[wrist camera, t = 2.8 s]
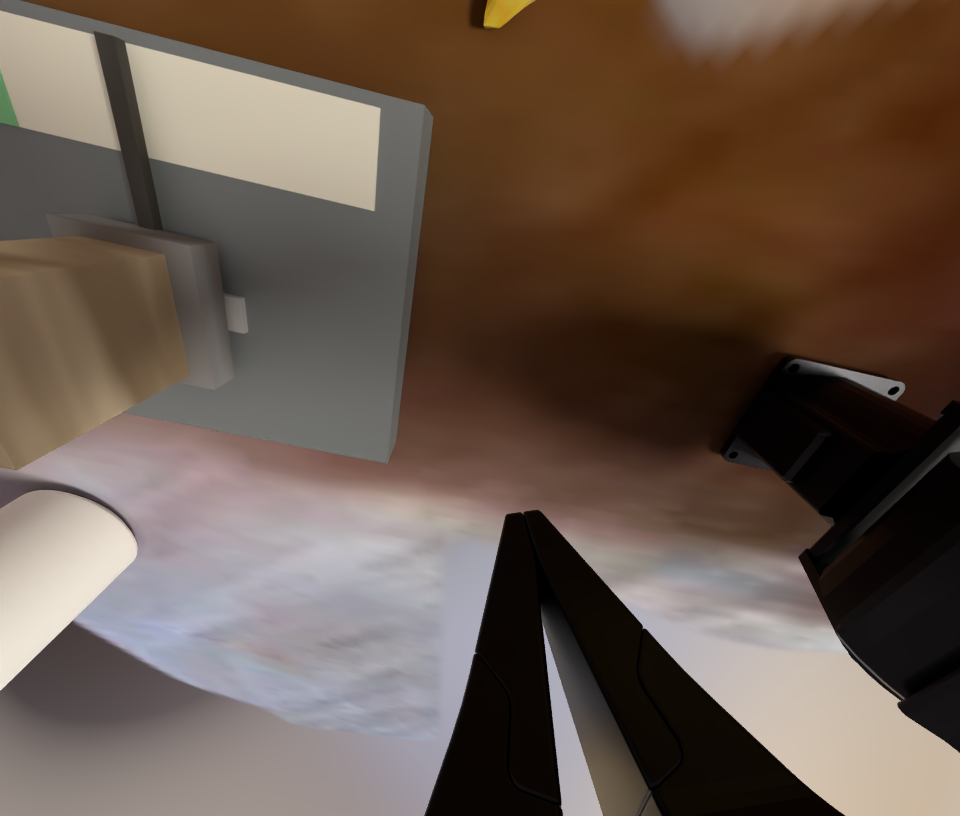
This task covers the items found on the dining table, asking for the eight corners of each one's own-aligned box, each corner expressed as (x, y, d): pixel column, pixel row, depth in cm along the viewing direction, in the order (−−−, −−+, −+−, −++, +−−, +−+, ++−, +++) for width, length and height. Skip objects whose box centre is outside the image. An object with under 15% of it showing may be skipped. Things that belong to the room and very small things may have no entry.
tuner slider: (194, 58, 12) (-260, -163, 5) (237, 375, 17) (60, 490, 10) (33, 17, 11) (-716, -289, 4) (130, 353, 17) (-129, 457, 10)
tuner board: (433, 117, 14) (422, 103, 12) (395, 443, 22) (385, 466, 20) (-58, -9, 13) (-160, -49, 11) (86, 382, 21) (42, 401, 19)
